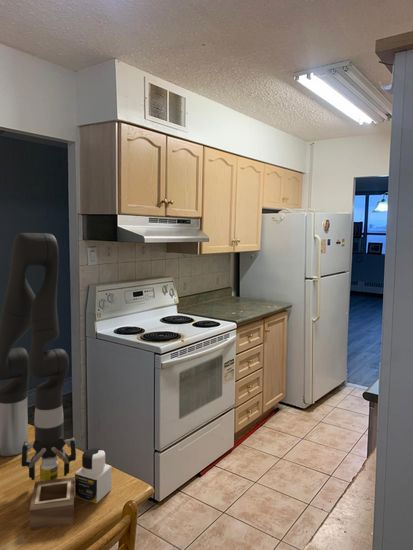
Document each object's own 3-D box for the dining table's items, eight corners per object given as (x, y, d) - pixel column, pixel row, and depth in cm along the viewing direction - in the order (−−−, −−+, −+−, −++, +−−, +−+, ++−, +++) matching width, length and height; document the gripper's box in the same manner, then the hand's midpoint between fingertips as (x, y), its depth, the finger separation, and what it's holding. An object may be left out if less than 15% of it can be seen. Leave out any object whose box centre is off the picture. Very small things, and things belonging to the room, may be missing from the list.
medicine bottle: (74, 497, 115) (74, 455, 114) (90, 483, 122) (91, 443, 121) (96, 504, 113) (96, 461, 111) (111, 489, 119) (112, 448, 118)
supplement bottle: (52, 491, 118) (51, 462, 117) (36, 488, 118) (36, 459, 118) (61, 481, 122) (61, 453, 121) (46, 479, 123) (46, 451, 122)
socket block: (35, 499, 114) (35, 480, 113) (74, 494, 117) (74, 476, 116) (29, 529, 102) (29, 509, 102) (73, 523, 105) (73, 503, 104)
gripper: (76, 413, 124) (76, 466, 125) (23, 417, 120) (24, 472, 122) (75, 424, 117) (75, 480, 118) (19, 429, 113) (20, 487, 114)
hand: (49, 476), depth 120 cm, fingers open, 8 cm apart
